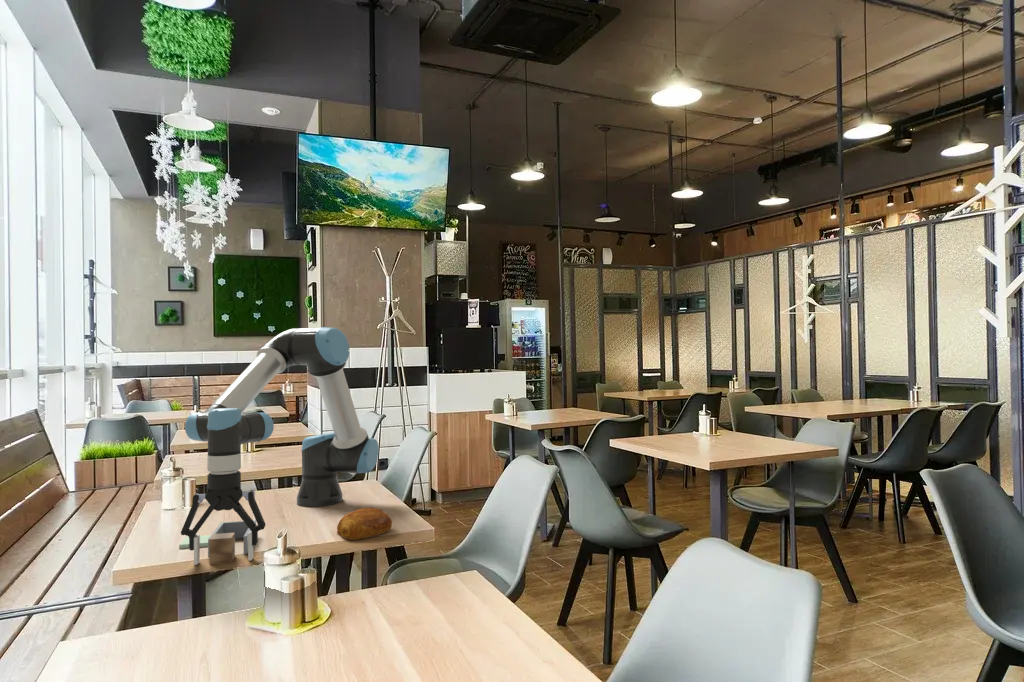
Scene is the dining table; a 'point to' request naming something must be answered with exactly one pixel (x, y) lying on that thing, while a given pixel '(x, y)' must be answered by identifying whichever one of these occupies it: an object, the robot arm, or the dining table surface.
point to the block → (221, 548)
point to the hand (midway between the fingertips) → (224, 561)
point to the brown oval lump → (364, 524)
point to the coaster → (202, 542)
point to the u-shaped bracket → (234, 531)
